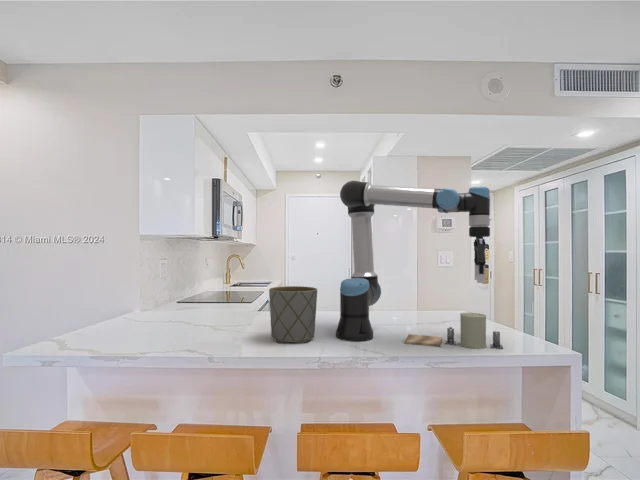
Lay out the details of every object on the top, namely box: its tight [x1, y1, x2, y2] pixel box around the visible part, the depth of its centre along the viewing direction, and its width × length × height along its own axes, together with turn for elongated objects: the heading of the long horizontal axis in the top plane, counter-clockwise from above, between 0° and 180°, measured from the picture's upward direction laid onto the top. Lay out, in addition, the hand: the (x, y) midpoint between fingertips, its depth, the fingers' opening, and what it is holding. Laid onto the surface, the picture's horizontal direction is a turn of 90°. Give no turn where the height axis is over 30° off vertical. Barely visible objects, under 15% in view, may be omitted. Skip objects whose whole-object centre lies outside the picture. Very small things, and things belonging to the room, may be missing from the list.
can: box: [459, 312, 487, 350], centre depth 145 cm, size 9×9×12 cm
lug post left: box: [444, 326, 457, 346], centre depth 148 cm, size 4×5×6 cm
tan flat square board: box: [404, 333, 443, 348], centre depth 151 cm, size 13×13×1 cm
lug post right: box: [489, 330, 504, 350], centre depth 142 cm, size 4×5×6 cm
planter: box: [268, 285, 318, 344], centre depth 154 cm, size 19×19×20 cm
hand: (479, 281), depth 150 cm, fingers open, 13 cm apart
